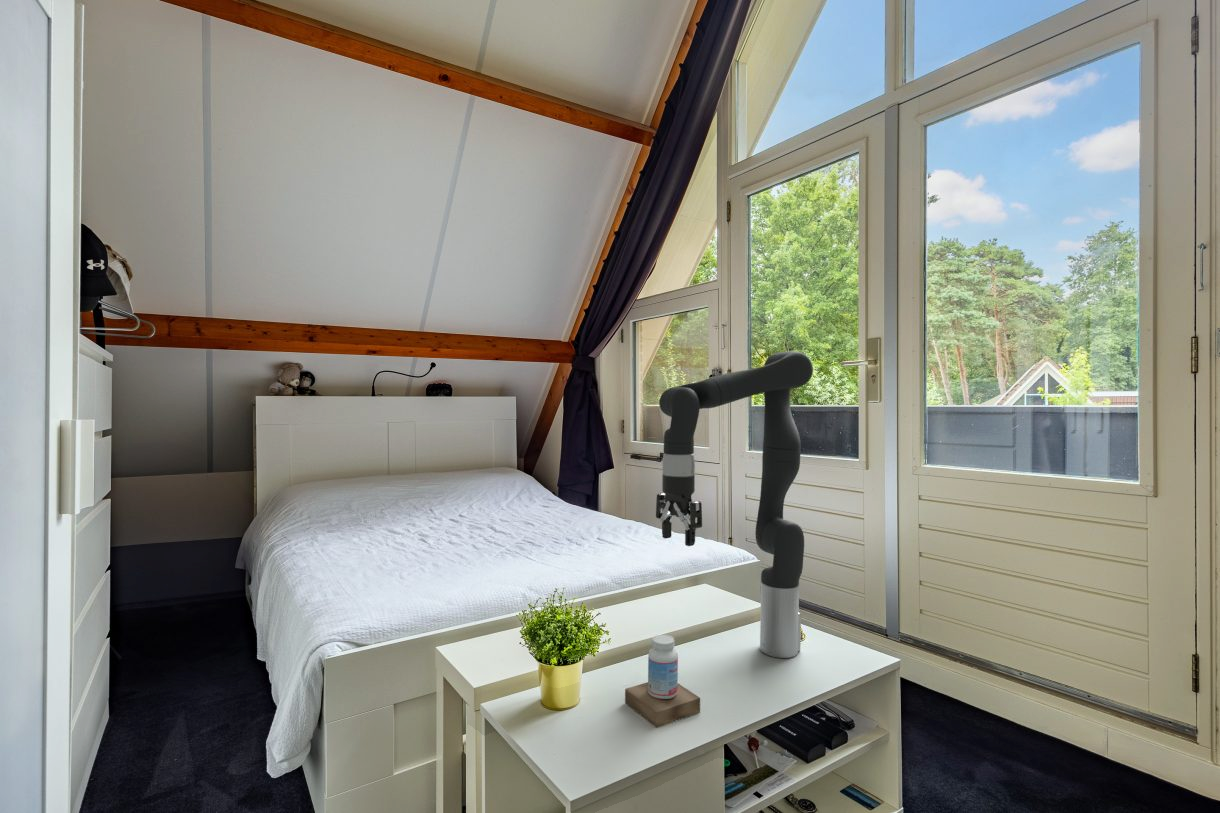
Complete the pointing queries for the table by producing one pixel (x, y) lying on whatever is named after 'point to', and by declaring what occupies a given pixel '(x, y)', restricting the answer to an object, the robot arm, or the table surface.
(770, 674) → the table surface
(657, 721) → the walnut stand
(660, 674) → the pill bottle
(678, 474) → the robot arm
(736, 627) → the table surface
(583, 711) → the table surface
